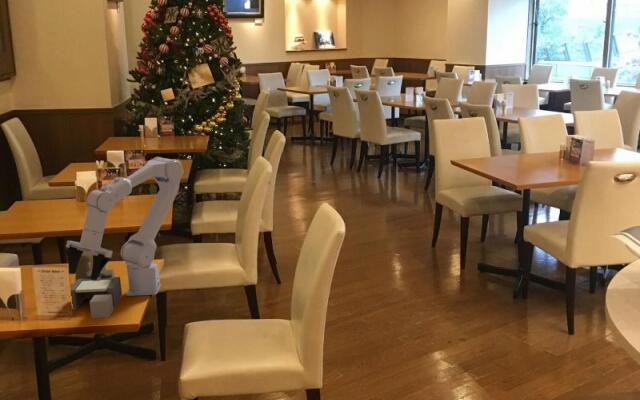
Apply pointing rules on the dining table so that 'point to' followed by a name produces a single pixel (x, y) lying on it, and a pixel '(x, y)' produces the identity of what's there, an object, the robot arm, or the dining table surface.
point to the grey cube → (101, 306)
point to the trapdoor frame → (112, 289)
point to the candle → (92, 261)
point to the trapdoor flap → (96, 282)
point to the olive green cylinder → (83, 266)
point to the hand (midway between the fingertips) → (82, 276)
